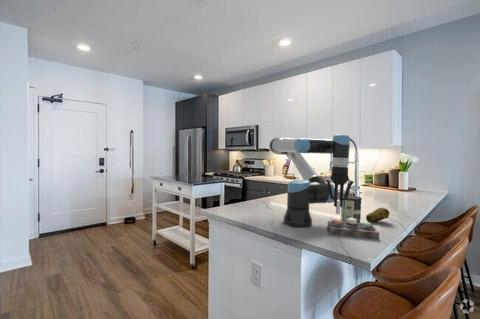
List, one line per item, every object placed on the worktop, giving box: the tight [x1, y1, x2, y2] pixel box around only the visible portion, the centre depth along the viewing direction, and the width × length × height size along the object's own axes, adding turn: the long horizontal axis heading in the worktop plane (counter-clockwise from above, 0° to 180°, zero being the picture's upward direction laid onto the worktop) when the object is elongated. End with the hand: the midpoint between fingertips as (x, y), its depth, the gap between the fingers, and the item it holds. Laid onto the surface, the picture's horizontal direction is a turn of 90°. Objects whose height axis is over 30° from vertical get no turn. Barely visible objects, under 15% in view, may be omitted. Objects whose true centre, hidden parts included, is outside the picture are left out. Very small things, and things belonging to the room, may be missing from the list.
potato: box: [365, 207, 390, 223], centre depth 136 cm, size 8×13×8 cm, turn 81°
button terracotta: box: [333, 218, 342, 224], centre depth 119 cm, size 4×4×2 cm
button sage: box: [361, 221, 372, 227], centre depth 116 cm, size 4×4×2 cm
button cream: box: [347, 218, 357, 224], centre depth 117 cm, size 4×4×2 cm
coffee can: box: [340, 194, 363, 223], centre depth 135 cm, size 10×10×14 cm
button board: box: [327, 219, 380, 240], centre depth 118 cm, size 21×12×4 cm, turn 76°
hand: (337, 213), depth 119 cm, fingers closed
